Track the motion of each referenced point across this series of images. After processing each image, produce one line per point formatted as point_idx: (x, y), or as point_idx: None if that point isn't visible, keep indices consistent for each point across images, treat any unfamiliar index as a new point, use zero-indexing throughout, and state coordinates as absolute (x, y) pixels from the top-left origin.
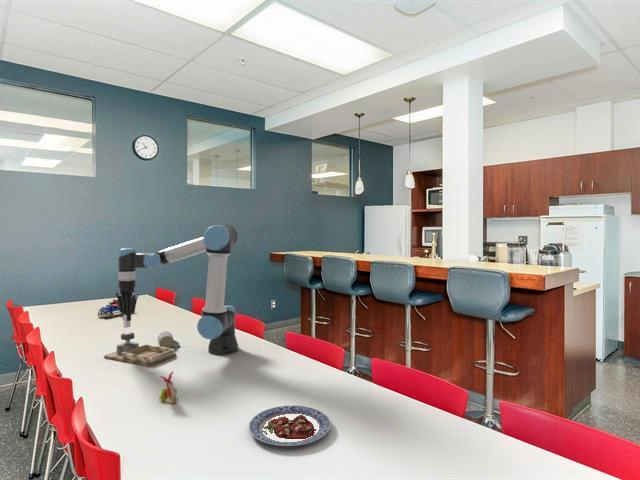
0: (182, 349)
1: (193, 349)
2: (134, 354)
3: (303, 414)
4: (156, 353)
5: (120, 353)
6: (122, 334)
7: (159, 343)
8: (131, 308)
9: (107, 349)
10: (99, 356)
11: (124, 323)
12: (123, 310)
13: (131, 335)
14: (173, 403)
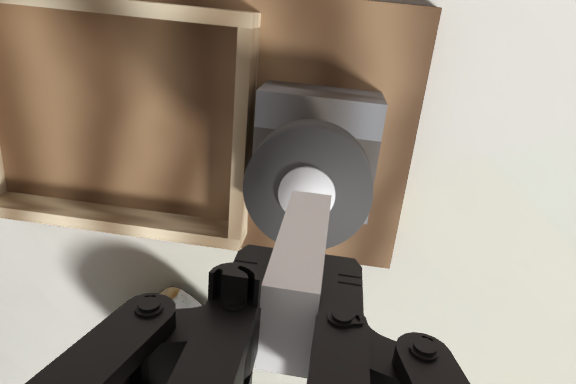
0: (75, 315)
1: (21, 329)
2: (111, 6)
3: None
4: (106, 176)
5: (340, 88)
6: (352, 168)
7: (174, 298)
8: (43, 369)
9: (566, 191)
10: (508, 28)
11: (312, 217)
12: (327, 356)
13: (245, 176)
14: None
